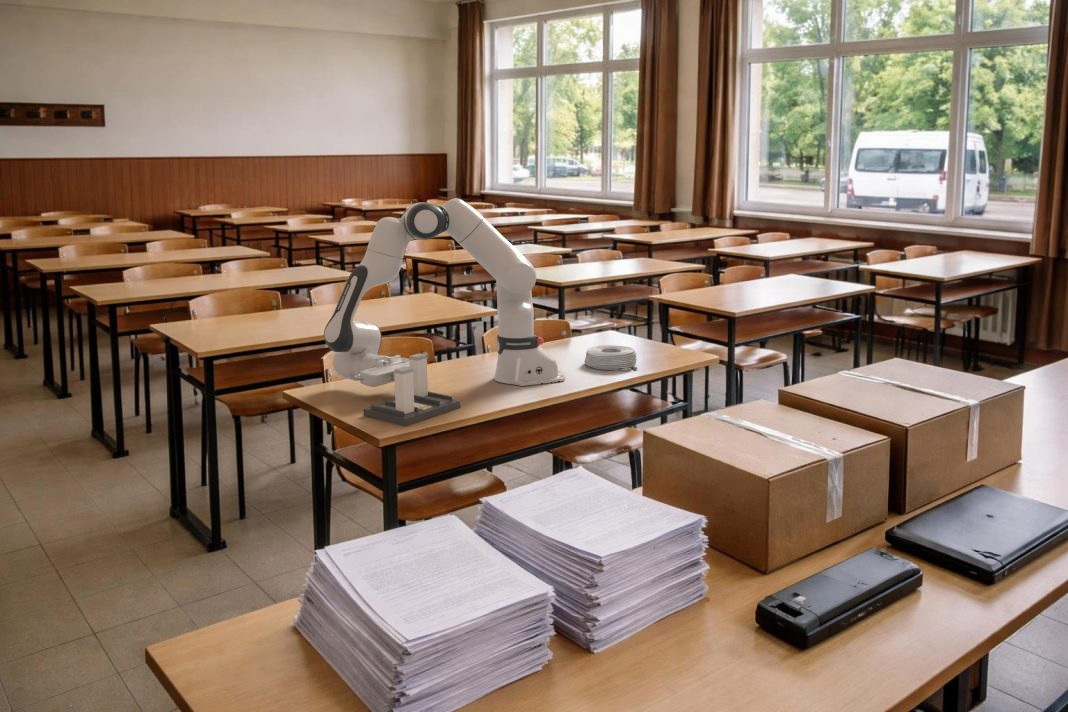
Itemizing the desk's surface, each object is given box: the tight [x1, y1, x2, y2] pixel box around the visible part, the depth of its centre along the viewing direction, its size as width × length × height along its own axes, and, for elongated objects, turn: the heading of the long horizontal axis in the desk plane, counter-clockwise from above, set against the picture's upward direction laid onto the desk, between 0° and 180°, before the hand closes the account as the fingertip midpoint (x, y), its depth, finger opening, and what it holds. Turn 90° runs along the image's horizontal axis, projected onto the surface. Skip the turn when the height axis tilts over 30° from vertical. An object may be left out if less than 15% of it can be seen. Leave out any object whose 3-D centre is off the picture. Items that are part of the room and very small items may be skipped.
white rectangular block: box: [394, 367, 414, 414], centre depth 250 cm, size 3×4×12 cm
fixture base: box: [362, 391, 461, 427], centre depth 259 cm, size 16×22×3 cm
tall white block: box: [408, 352, 429, 397], centre depth 266 cm, size 3×4×12 cm
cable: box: [584, 344, 638, 372], centre depth 313 cm, size 18×18×6 cm
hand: (410, 376), depth 268 cm, fingers closed
